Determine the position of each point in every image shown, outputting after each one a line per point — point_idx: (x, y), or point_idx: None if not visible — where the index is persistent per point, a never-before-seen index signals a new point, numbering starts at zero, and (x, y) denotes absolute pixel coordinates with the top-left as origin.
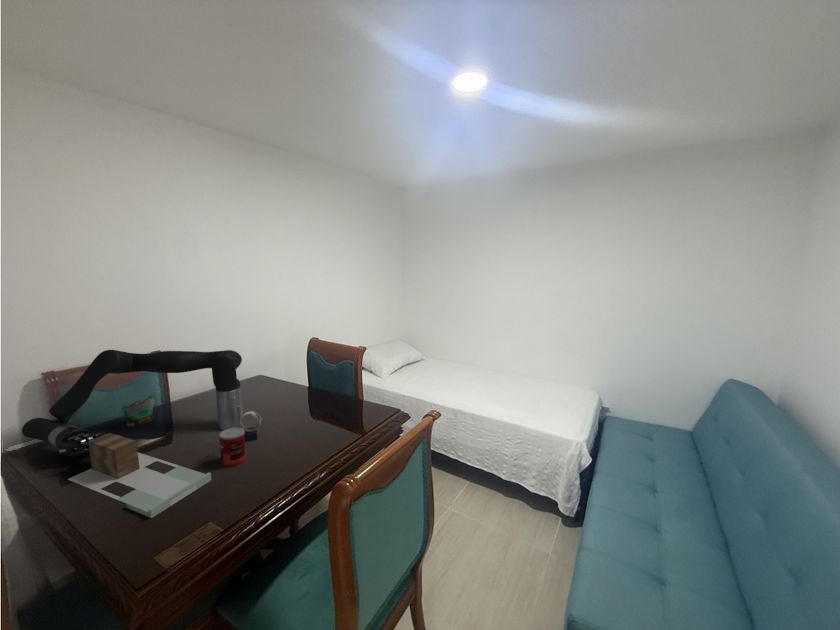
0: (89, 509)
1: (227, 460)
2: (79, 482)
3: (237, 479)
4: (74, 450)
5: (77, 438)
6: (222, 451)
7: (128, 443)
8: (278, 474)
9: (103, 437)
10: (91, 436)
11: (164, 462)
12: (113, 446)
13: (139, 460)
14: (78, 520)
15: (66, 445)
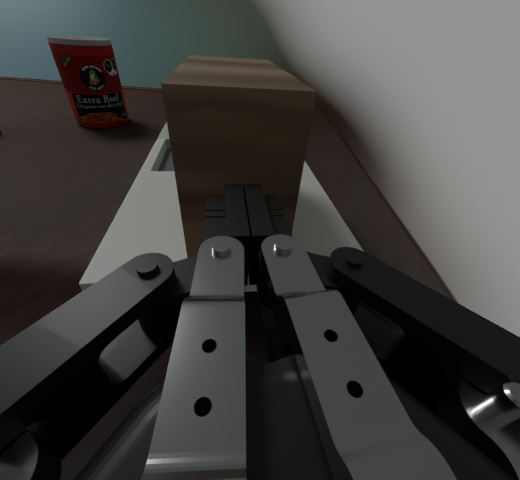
0: (329, 166)
1: (125, 104)
2: (338, 221)
3: (161, 108)
4: (377, 341)
5: (383, 450)
6: (118, 84)
7: (216, 56)
8: (136, 96)
9: (232, 81)
10: (181, 316)
11: (152, 158)
12: (257, 61)
13: (162, 199)
14: (347, 159)
15: (512, 374)
